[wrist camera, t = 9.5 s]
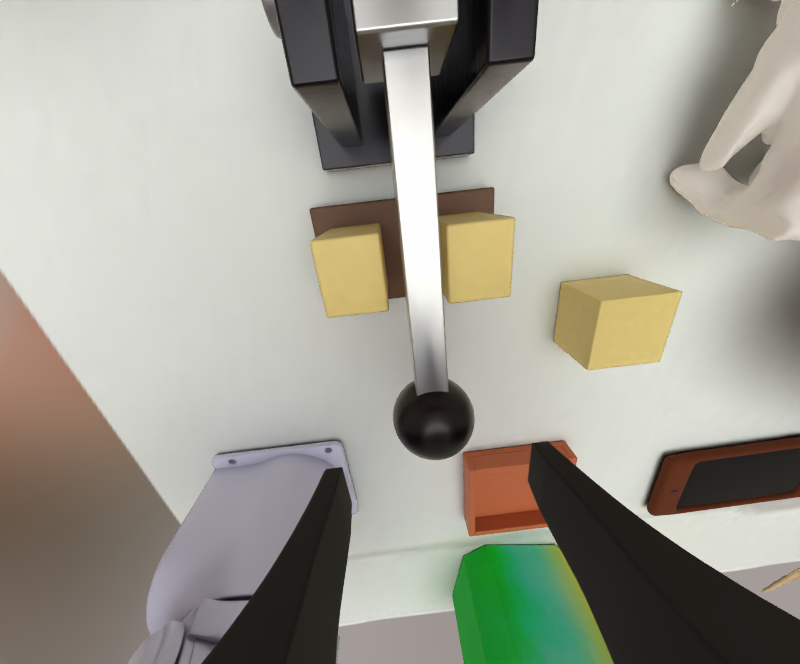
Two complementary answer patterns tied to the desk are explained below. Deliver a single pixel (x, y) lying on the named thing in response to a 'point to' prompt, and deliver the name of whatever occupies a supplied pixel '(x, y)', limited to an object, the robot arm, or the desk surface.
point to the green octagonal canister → (524, 609)
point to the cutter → (417, 206)
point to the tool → (783, 580)
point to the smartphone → (727, 477)
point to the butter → (381, 254)
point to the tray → (502, 490)
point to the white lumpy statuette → (742, 121)
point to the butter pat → (614, 320)
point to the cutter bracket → (365, 103)
